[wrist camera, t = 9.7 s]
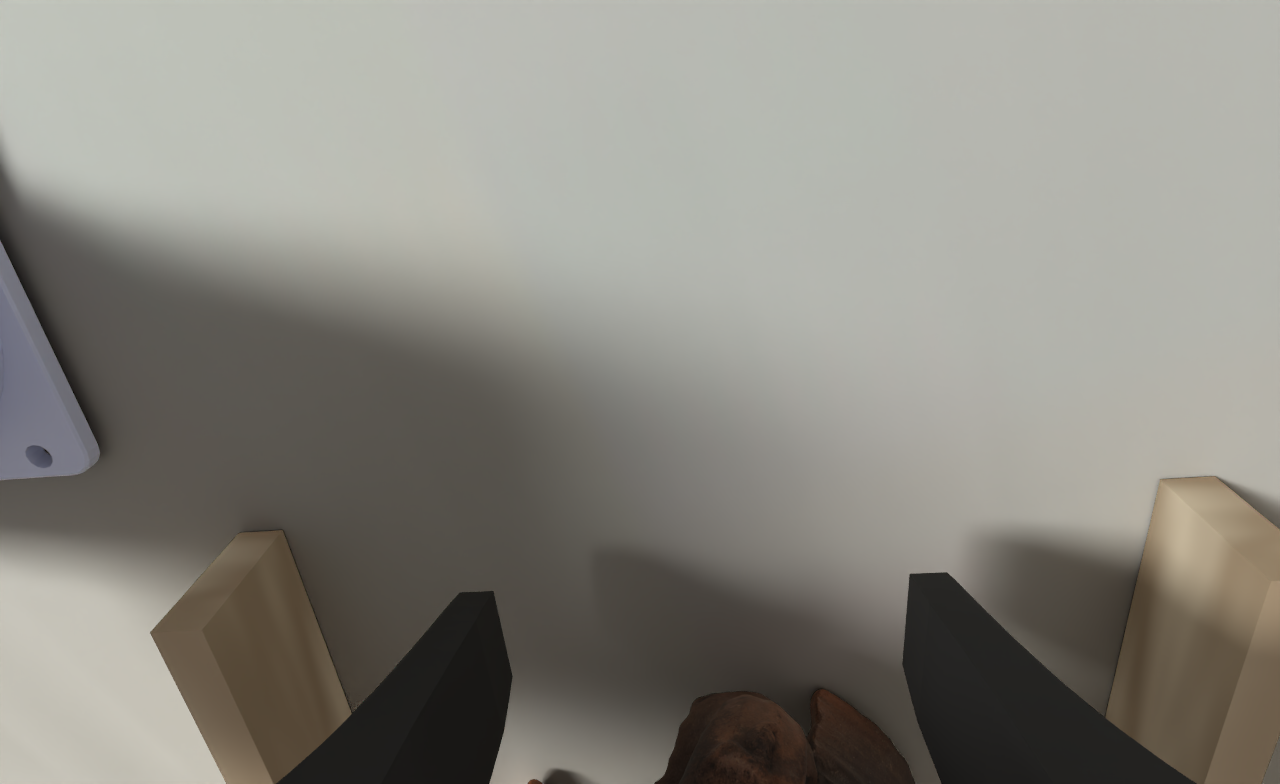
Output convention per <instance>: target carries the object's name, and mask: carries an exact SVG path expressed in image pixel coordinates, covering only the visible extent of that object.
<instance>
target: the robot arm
mask: <svg viewBox="0 0 1280 784" xmlns="http://www.w3.org/2000/svg"><path fill="white" fill-rule="evenodd" d="M43 448H44V449H46V450H47V451H48V452H49V453H50V455H49V454H47V453H46V452H45V450H44V449H43ZM99 456H100V451H99V447H98V444H97V442H96V440H95V437H94V435H93V433H92V431H91V429H90V427H89V425H88V423H87V421H86V419H85V417H84V414H83V412H82V410H81V408H80V406H79V404H78V402H77V400H76V398H75V396H74V394H73V391H72V389H71V387H70V385H69V383H68V381H67V379H66V377H65V375H64V373H63V371H62V368H61V366H60V364H59V362H58V360H57V358H56V356H55V354H54V352H53V350H52V348H51V345H50V343H49V341H48V339H47V337H46V335H45V333H44V331H43V329H42V327H41V324H40V322H39V320H38V318H37V316H36V314H35V312H34V310H33V308H32V306H31V304H30V301H29V299H28V297H27V295H26V293H25V291H24V289H23V287H22V285H21V283H20V281H19V278H18V276H17V274H16V272H15V270H14V268H13V266H12V264H11V262H10V260H9V258H8V255H7V253H6V251H5V249H4V247H3V245H2V243H1V241H0V480H10V479H25V478H40V477H55V476H70V475H77V474H81V473H83V472H85V471H86V470H88V469H89V468H90V467H92V466H93V465H94V464H95V463H96V462H97V461H98V460H99ZM903 668H904V672H905V676H906V680H907V684H908V688H909V692H910V696H911V699H912V703H913V706H914V710H915V714H916V717H917V721H918V724H919V727H920V729H921V732H922V735H923V737H924V740H925V742H926V745H927V747H928V750H929V752H930V755H931V758H932V760H933V763H934V765H935V768H936V770H937V773H938V775H939V778H940V780H941V783H942V784H1197V783H1195V782H1194V781H1192V780H1191V779H1189V778H1188V777H1186V776H1185V775H1183V774H1182V773H1180V772H1179V771H1177V770H1176V769H1174V768H1173V767H1171V766H1170V765H1168V764H1167V763H1166V762H1164V761H1163V760H1161V759H1160V758H1158V757H1157V756H1156V755H1154V754H1153V753H1152V752H1150V751H1149V750H1148V749H1146V748H1145V747H1143V746H1142V745H1141V744H1139V743H1138V742H1137V741H1135V740H1134V739H1133V738H1131V737H1130V736H1128V735H1127V734H1126V733H1124V732H1123V731H1122V730H1120V729H1119V728H1118V727H1116V726H1115V725H1114V724H1112V723H1111V722H1110V721H1109V720H1107V719H1106V718H1105V717H1103V716H1102V715H1101V714H1100V713H1098V712H1097V711H1096V710H1095V709H1093V708H1092V707H1091V706H1090V705H1089V704H1087V703H1086V702H1085V701H1084V700H1083V699H1081V698H1080V697H1079V696H1078V695H1077V694H1075V693H1074V692H1073V691H1072V690H1071V689H1069V688H1068V687H1067V686H1066V685H1065V684H1064V683H1063V682H1061V681H1060V680H1059V679H1058V678H1057V677H1056V676H1055V675H1053V674H1052V673H1051V672H1050V671H1049V670H1048V669H1047V668H1046V667H1045V666H1043V665H1042V664H1041V663H1040V662H1039V661H1038V660H1037V659H1036V658H1035V657H1034V656H1033V655H1031V654H1030V653H1029V652H1028V651H1027V650H1026V649H1025V648H1024V647H1023V646H1022V645H1021V644H1019V643H1018V642H1017V641H1016V640H1015V639H1014V638H1013V637H1012V636H1011V635H1010V634H1009V633H1008V632H1007V631H1006V630H1005V629H1004V628H1003V627H1002V626H1001V625H1000V624H999V623H998V622H997V621H996V620H995V619H994V618H993V617H992V616H991V615H990V614H988V613H987V612H986V611H985V610H984V609H983V608H982V607H981V606H980V605H979V604H978V603H977V602H976V601H975V600H974V599H973V597H972V596H971V595H970V594H969V593H968V592H967V591H966V590H965V589H964V588H963V587H962V586H961V585H960V584H959V583H958V582H957V581H956V580H955V579H954V578H952V577H951V576H950V575H949V574H948V573H947V572H946V573H922V574H910V577H909V590H908V602H907V614H906V627H905V639H904V651H903ZM511 683H512V672H511V668H510V663H509V659H508V654H507V650H506V646H505V641H504V637H503V632H502V628H501V623H500V619H499V614H498V610H497V606H496V601H495V597H494V592H493V591H486V592H461V593H459V594H458V595H457V596H456V597H455V598H454V600H453V601H452V602H451V603H450V604H449V605H448V606H447V608H446V609H445V610H444V611H443V612H442V614H441V615H440V616H439V617H438V618H437V619H436V621H435V622H434V623H433V624H432V625H431V627H430V628H429V629H428V630H427V631H426V633H425V634H424V635H423V636H422V637H421V638H420V640H419V641H418V642H417V643H416V644H415V645H414V647H413V648H412V649H411V650H410V651H409V652H408V654H407V655H406V656H405V657H404V658H403V659H402V660H401V661H400V663H399V664H398V665H397V666H396V667H395V668H394V669H393V671H392V672H391V673H390V674H389V675H388V676H387V677H386V678H385V680H384V681H383V682H382V683H381V684H380V685H379V686H378V687H377V688H376V689H375V690H374V692H373V693H372V694H371V695H370V696H369V697H368V698H367V699H366V700H365V701H364V702H363V703H362V704H361V705H360V706H359V707H358V708H357V709H356V710H355V711H354V712H353V713H352V714H351V715H350V716H349V717H348V718H347V719H346V720H345V721H344V722H343V724H342V725H341V726H340V727H338V728H337V729H336V730H335V731H334V732H333V733H332V734H331V735H330V736H329V737H328V738H327V739H326V740H325V741H324V742H323V743H322V744H321V745H320V746H319V747H318V748H316V749H315V750H314V751H313V752H312V753H311V754H310V755H308V756H307V757H306V758H305V759H304V760H303V761H302V762H301V763H299V764H298V765H297V766H296V767H295V768H294V769H293V770H292V771H290V772H289V773H288V774H287V775H286V776H284V777H283V778H282V779H281V780H280V781H278V782H277V783H276V784H489V783H490V779H491V776H492V772H493V769H494V765H495V762H496V758H497V754H498V751H499V747H500V744H501V740H502V736H503V732H504V727H505V721H506V715H507V709H508V703H509V696H510V690H511Z"/></svg>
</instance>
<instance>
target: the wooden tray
mask: <svg viewBox="0 0 1280 784" xmlns="http://www.w3.org/2000/svg"><path fill="white" fill-rule="evenodd" d="M150 634H151V636H152V638H153V639H154V641H155V643H156V645H157V647H158V649H159V651H160V653H161V655H162V657H163V659H164V661H165V663H166V665H167V667H168V669H169V671H170V673H171V675H172V677H173V679H174V681H175V683H176V685H177V687H178V689H179V691H180V693H181V695H182V697H183V699H184V701H185V703H186V705H187V707H188V709H189V711H190V713H191V715H192V716H193V718H194V720H195V722H196V724H197V726H198V728H199V730H200V732H201V734H202V736H203V738H204V740H205V742H206V744H207V746H208V748H209V750H210V752H211V754H212V756H213V758H214V760H215V762H216V764H217V766H218V768H219V770H220V772H221V774H222V776H223V778H224V780H225V782H226V784H276V783H277V782H278V781H280V780H281V779H282V778H283V777H284V776H286V775H287V774H288V773H289V772H290V771H292V770H293V769H294V768H295V767H296V766H297V765H298V764H299V763H301V762H302V761H303V760H304V759H305V758H306V757H307V756H308V755H310V754H311V753H312V752H313V751H314V750H315V749H316V748H318V747H319V746H320V745H321V744H322V743H323V742H324V741H325V740H326V739H327V738H328V737H329V736H330V735H331V734H332V733H333V732H334V731H335V730H336V729H337V728H338V727H340V726H341V725H342V724H343V722H344V721H345V720H346V719H347V718H348V717H349V716H350V715H351V714H352V713H351V710H350V708H349V705H348V702H347V700H346V697H345V694H344V692H343V689H342V686H341V684H340V681H339V678H338V676H337V673H336V670H335V668H334V665H333V662H332V660H331V657H330V655H329V652H328V649H327V647H326V644H325V641H324V639H323V636H322V633H321V631H320V628H319V625H318V623H317V620H316V617H315V615H314V612H313V609H312V607H311V604H310V601H309V599H308V596H307V593H306V591H305V588H304V586H303V583H302V580H301V578H300V575H299V572H298V570H297V567H296V564H295V562H294V559H293V556H292V554H291V551H290V548H289V546H288V543H287V540H286V538H285V535H284V532H283V530H278V531H261V532H244V533H238V534H237V536H236V537H235V538H234V539H233V540H232V541H231V542H230V543H229V545H228V546H227V547H226V548H225V549H224V550H223V551H222V552H221V554H220V555H219V556H218V557H217V558H216V559H215V560H214V561H213V563H212V564H211V565H210V566H209V567H208V568H207V569H206V570H205V572H204V573H203V574H202V575H201V576H200V577H199V578H198V579H197V581H196V582H195V583H194V584H193V585H192V586H191V587H190V588H189V590H188V591H187V592H186V593H185V594H184V595H183V596H182V597H181V599H180V600H179V601H178V602H177V603H176V604H175V605H174V606H173V607H172V609H171V610H170V611H169V612H168V613H167V614H166V615H165V616H164V618H163V619H162V620H161V621H160V622H159V623H158V624H157V625H156V627H155V628H154V629H153V630H152V631H151V632H150ZM1105 718H1106V719H1107V720H1109V721H1110V722H1111V723H1112V724H1114V725H1115V726H1116V727H1118V728H1119V729H1120V730H1122V731H1123V732H1124V733H1126V734H1127V735H1128V736H1130V737H1131V738H1133V739H1134V740H1135V741H1137V742H1138V743H1139V744H1141V745H1142V746H1143V747H1145V748H1146V749H1148V750H1149V751H1150V752H1152V753H1153V754H1154V755H1156V756H1157V757H1158V758H1160V759H1161V760H1163V761H1164V762H1166V763H1167V764H1168V765H1170V766H1171V767H1173V768H1174V769H1176V770H1177V771H1179V772H1180V773H1182V774H1183V775H1185V776H1186V777H1188V778H1189V779H1191V780H1192V781H1194V782H1195V783H1197V784H1261V783H1262V780H1263V778H1264V775H1265V773H1266V770H1267V767H1268V765H1269V762H1270V759H1271V757H1272V754H1273V751H1274V749H1275V746H1276V743H1277V741H1278V738H1279V736H1280V529H1278V528H1277V527H1276V526H1275V525H1274V524H1272V523H1271V522H1270V521H1269V520H1267V519H1266V518H1265V517H1264V516H1263V515H1261V514H1260V513H1259V512H1258V511H1256V510H1255V509H1254V508H1253V507H1252V506H1250V505H1249V504H1248V503H1247V502H1246V501H1244V500H1243V499H1242V498H1241V497H1239V496H1238V495H1237V494H1236V493H1235V492H1233V491H1232V490H1231V489H1230V488H1229V487H1227V486H1226V485H1225V484H1224V483H1222V482H1221V481H1220V480H1219V479H1218V478H1216V477H1215V476H1211V477H1193V478H1176V479H1160V483H1159V487H1158V492H1157V496H1156V500H1155V505H1154V509H1153V513H1152V518H1151V522H1150V526H1149V531H1148V535H1147V539H1146V543H1145V548H1144V552H1143V556H1142V561H1141V565H1140V569H1139V574H1138V578H1137V582H1136V587H1135V591H1134V595H1133V600H1132V604H1131V608H1130V613H1129V617H1128V621H1127V625H1126V630H1125V634H1124V638H1123V643H1122V647H1121V651H1120V656H1119V660H1118V664H1117V669H1116V673H1115V677H1114V682H1113V686H1112V690H1111V695H1110V699H1109V703H1108V707H1107V712H1106V716H1105Z"/></svg>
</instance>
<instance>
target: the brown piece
mask: <svg viewBox="0 0 1280 784" xmlns="http://www.w3.org/2000/svg"><path fill="white" fill-rule="evenodd" d="M810 709H811V730H810V732H809V734H808V737H807V738H806V736H805V735H804V732H803V730H802V728H801V726H800V725H799V724H798V723H797V722H796V721H795V720H793V719H792V717H791V716H790V715H789V714H788V713H787V712H785V711H784V710H783V709H782V708H781V707H780V706H779V705H778V704H776V703H775V702H773V701H771V700H770V699H769V698H767V697H765V696H764V695H762V694H760V693H756V692H749V691H736V692H724V693H714V694H710V695H707V696H703V697H699V698H697V699H696V700H695V701H694V702H693V703H692V707H691V709H690V713H689V715H688V717H687V718H686V719H685V720H684V721H683V722H682V724H681V725H680V727H679V731H678V736H677V739H676V743H675V747H674V750H673V752H672V754H671V756H670V758H669V762H668V766H667V770H666V772H665V774H664V776H663V777H662V778H661V779H660V780H658V781H657V782H655V783H654V784H915V781H914V779H913V777H912V775H911V772H910V769H909V766H908V764H907V762H906V760H905V759H904V758H903V757H902V756H901V755H900V754H899V752H898V751H897V750H896V748H895V747H894V745H893V743H892V742H891V740H890V739H889V738H888V736H886V735H885V734H884V733H883V732H882V730H881V729H880V728H879V727H878V726H877V725H876V724H874V723H873V722H872V721H871V720H869V719H868V718H866V717H865V716H863V715H861V714H860V713H859V712H858V711H857V710H856V709H855V708H853V707H852V706H851V705H849V704H848V703H847V702H845V701H843V700H841V699H840V698H839V697H837V696H836V695H834V694H832V693H830V692H829V691H827V690H825V689H820V690H817V691H816V692H815V693H814V694H813V696H812V698H811V703H810ZM528 784H542V783H541V782H540V781H538V780H535V779H532V780H530V781H529V782H528Z"/></svg>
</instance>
